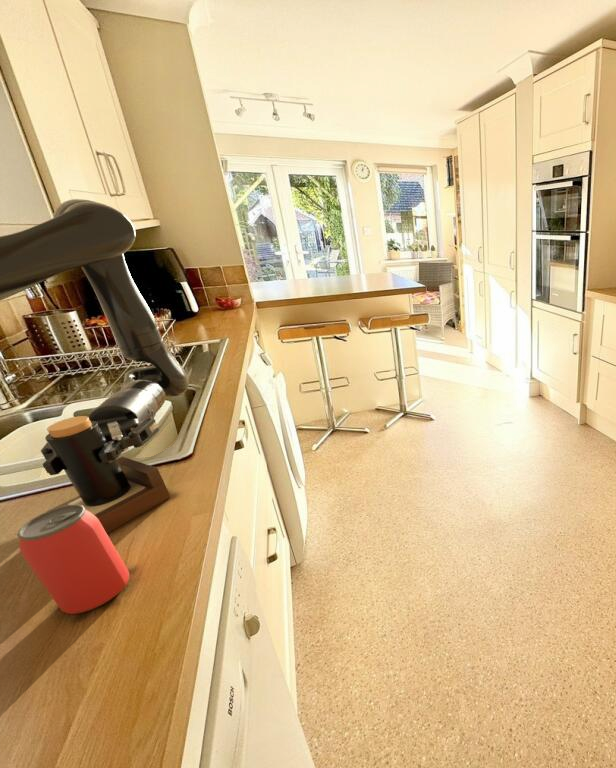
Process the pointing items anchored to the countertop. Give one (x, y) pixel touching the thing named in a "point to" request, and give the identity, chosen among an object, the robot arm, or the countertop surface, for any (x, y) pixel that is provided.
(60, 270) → the robot arm
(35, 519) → the beer can
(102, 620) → the countertop surface
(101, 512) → the brown wooden stand
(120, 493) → the black canister
